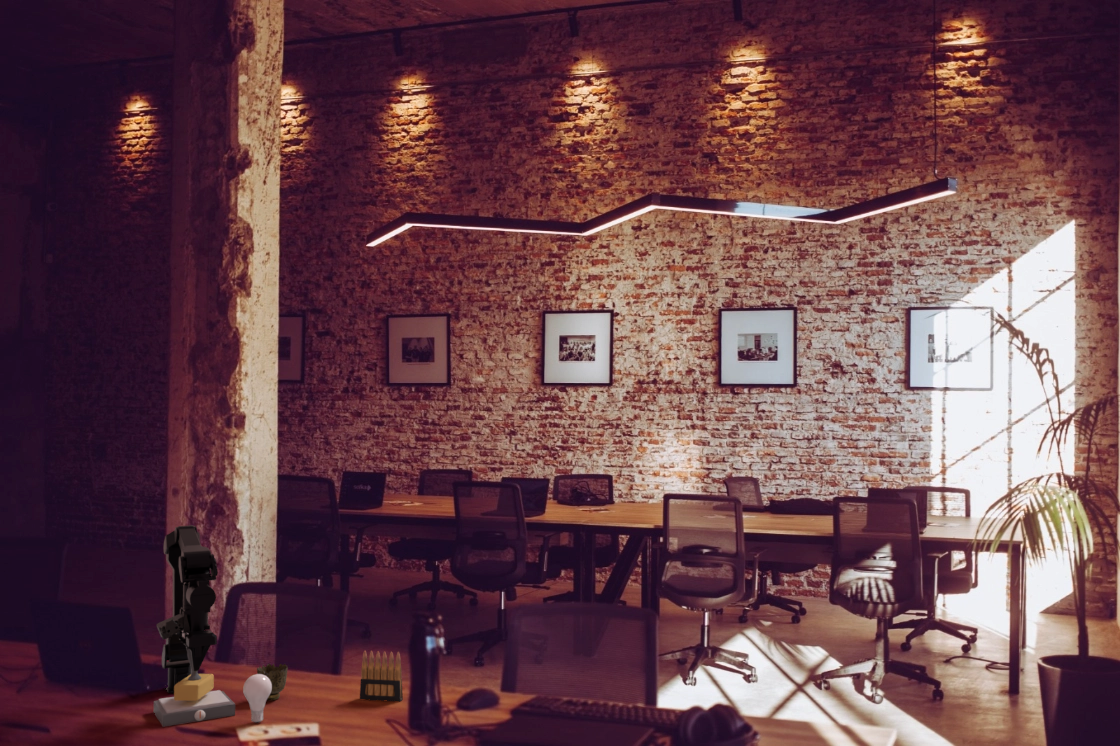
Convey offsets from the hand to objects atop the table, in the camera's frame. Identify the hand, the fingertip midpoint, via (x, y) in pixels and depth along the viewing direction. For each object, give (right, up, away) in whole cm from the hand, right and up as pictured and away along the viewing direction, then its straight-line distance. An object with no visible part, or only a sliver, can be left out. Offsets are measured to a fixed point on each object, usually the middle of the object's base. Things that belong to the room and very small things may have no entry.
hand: (194, 669), depth 227 cm
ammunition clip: (+43, -11, +10) cm, 45 cm away
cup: (+15, -11, +11) cm, 22 cm away
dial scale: (0, -10, -1) cm, 10 cm away
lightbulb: (+17, -10, -8) cm, 21 cm away
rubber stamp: (0, -6, 0) cm, 6 cm away
